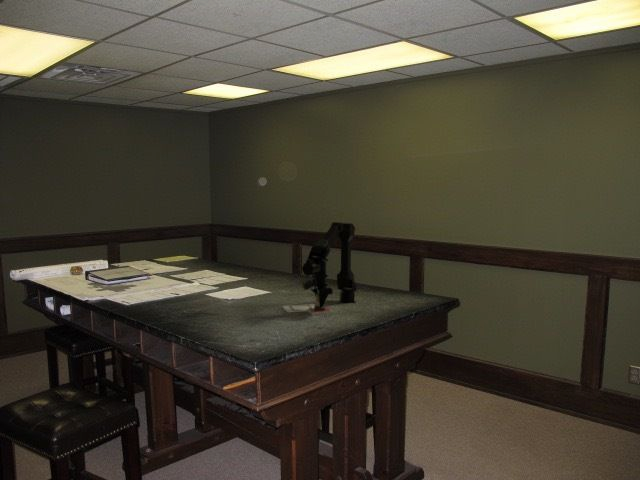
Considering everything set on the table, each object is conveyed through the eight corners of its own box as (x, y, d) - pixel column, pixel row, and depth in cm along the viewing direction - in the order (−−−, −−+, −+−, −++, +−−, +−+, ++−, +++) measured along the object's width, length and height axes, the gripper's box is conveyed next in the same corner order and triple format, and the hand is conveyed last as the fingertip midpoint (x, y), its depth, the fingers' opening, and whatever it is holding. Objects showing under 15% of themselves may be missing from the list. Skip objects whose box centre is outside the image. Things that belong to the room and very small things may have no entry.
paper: (313, 304, 248) (313, 303, 248) (321, 310, 237) (321, 309, 237) (281, 306, 244) (281, 305, 244) (287, 312, 232) (287, 311, 232)
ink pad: (327, 309, 238) (327, 306, 238) (332, 313, 230) (332, 310, 230) (306, 311, 235) (306, 308, 235) (311, 315, 227) (311, 312, 227)
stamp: (323, 307, 236) (323, 291, 235) (326, 310, 231) (326, 293, 230) (312, 308, 234) (312, 292, 233) (316, 310, 229) (316, 294, 229)
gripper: (297, 269, 237) (297, 302, 239) (308, 276, 219) (308, 312, 221) (320, 268, 240) (320, 300, 242) (333, 275, 223) (332, 310, 225)
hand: (319, 305), depth 232 cm, fingers closed on stamp, 4 cm apart
